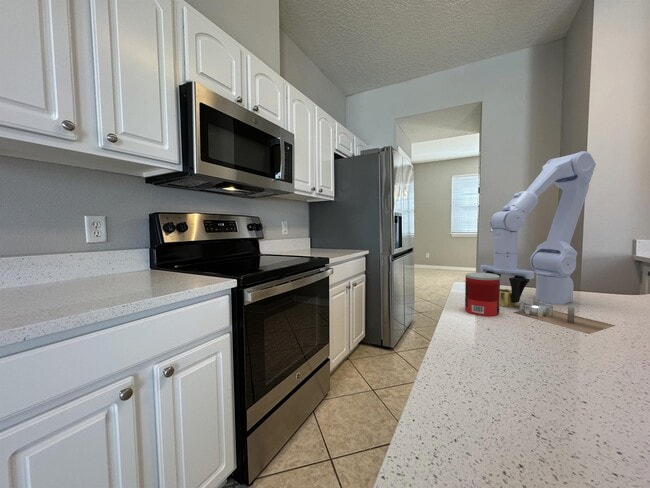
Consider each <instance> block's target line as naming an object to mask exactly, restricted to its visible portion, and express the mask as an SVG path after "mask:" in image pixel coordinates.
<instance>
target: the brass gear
mask: <svg viewBox="0 0 650 488" xmlns="http://www.w3.org/2000/svg"><path fill="white" fill-rule="evenodd" d="M517 304H518V302H516V303H513V302H512V290H511V289H509V288H500V300H499V306H500V307H509V308H513V307H518V306H517Z"/></svg>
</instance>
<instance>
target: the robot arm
mask: <svg viewBox="0 0 650 488" xmlns="http://www.w3.org/2000/svg"><path fill="white" fill-rule="evenodd" d="M596 165H597V163H596V161H595V160H594V157H593V156H592V154H591V153H590V152H588V151H584V150H582V151H579V152H577V153H572V154H568V155H564V156H561V157H554V158H551V159H549V160H547V162H546V163H545V164H544V165H543V166H541V167H542V169H541V172H540V173H539V174H538V176H536V178H535V179H534V180H533V182H532V183H531V184H530V185H529V186H528V188H527V189H526V190H521V191H519V192H515V193H514V195H513V198H512V199H511V200H510V201H509V202H508V203H507V204H506V205H504V206H503V207H502V209H501V211H497V212H495V213H494V214H493V215H492V216H491V218H490V220H489V221H488V223H489V227H490V228H491V230H492V236H493V265H489V264H480V266H479V271H480V273H490V274H496V275H499V276H500V278H501V276H502V275H504V276H511V277H509V279H508V280H509V283H510V288H511V289H510V290H512V302H513V303H516V302H517V303H520V300H521V298H522V297H521V296H522V295H523V294H522V293H523V291H524V290H525V288H526V286H527V285H528V283H529V282H530V280H533V279H535V277H536V279H535V299H536V300H539V303H545V304H548V305H550V304H551V305H566V304H568V303H573V302H574V281H573V279H572V278H571V275H572V274H573V273H574V272H575V270H576V268H577V256H578V251H577V250H576V249H574V248H573V246H571V242H572V238H573V236H574V233H575V230H576V227H577V224H578V221H579V218H580V214H581V213H582V210H583V206H584V203H585V200H586V198H587V194H588V192H589V189H590V183H591V180H592V178H593V177H592V176H593V174H594V171H595V168H596ZM553 184H554V186H556V187H557V188H558V189H560V190H562V193H561V195H560V199H559V202H558V204H557V208H556V211H555V213H554V217H553V219H552V220H553V221H552V223H551V227H550V229H549V232H548V235H547V238H546V240H544V242H542V243H540V244H539V245H537V246H536V248H535V251H534V252H533V253H532V254H531V256H530V257H529V265H530V267H531V269H532V270H527V269H523V268H518V251H519V249H518V248H519V247H518V245H519V244H518V243H519V242H518V241H519V238H518V237H519V230H520V229H522V228H523V226H524V225H525V219H526V217H527V216H528V214H530V213H531V211H533V209H534V208H535V207H536V206H537V205H538V204H539V199H538V198H539V197H540V196H541V195H542V194H544V192H545V191H546V190H548V189H549V187H551V186H552V185H553ZM535 274H536V275H535Z"/></svg>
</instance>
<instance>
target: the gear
mask: <svg viewBox="0 0 650 488" xmlns="http://www.w3.org/2000/svg"><path fill="white" fill-rule="evenodd" d="M518 309H519V310H518V311H519V312H520V313H525V315H528V316H530V315H533V316H537V317H541V318H543V317H544V316H546V317H552V315H553V310H554V306H553V305H550V304H547V303H543V302H539V306H536V305H533V300H531V301H521V302H519V308H518Z"/></svg>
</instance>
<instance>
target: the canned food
mask: <svg viewBox="0 0 650 488" xmlns="http://www.w3.org/2000/svg"><path fill="white" fill-rule="evenodd" d="M464 281H465V283H464V285H465V286H464V287H465V290H464V292H465V293H464V297H465V299H464V300H465V301H464V311H465V312H466V313H468V314H471V315H475V316H479V317H486V318H487V317H488V318H490V317H497V316H499V315H500V305H499V300H500V289H501V277H500V276H499V275H496V274H490V273H486V272H469V273H468V272H467V273H465V279H464Z"/></svg>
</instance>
